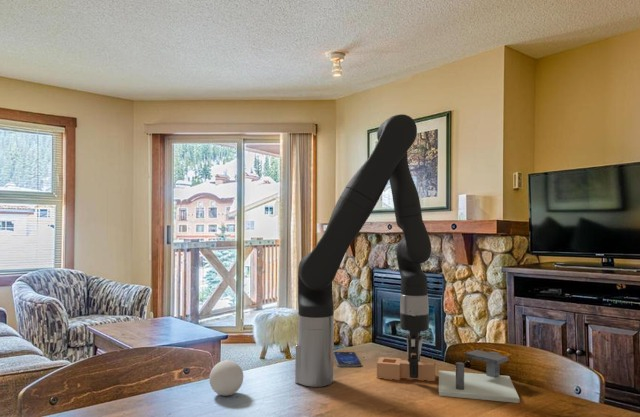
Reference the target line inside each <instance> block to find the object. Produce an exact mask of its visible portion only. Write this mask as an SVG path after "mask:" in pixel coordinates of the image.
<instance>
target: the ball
mask: <svg viewBox="0 0 640 417" xmlns="http://www.w3.org/2000/svg"><path fill="white" fill-rule="evenodd" d="M208 377H209V378H208V380H209V381H208V382H209V385H210V387H211V389H212V390H213V392H214V393H216V394H217V395H219V396H224V397H227V396H231V395H234V394H235V393H237V392H238V391H239V389H240V388H241V387H242V385H243V382H244V372H243V370H242V367H241V366H240V365H239V364H238V363H237V362H236V361H233V360H230V359H229V360H228V359H225V360H221V361H219V362H218V363H217V364H215V365H213V367H212V369H211V371H210V373H209V376H208Z"/></svg>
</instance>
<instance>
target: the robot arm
mask: <svg viewBox="0 0 640 417" xmlns="http://www.w3.org/2000/svg"><path fill="white" fill-rule="evenodd" d="M376 133H377V134H376V138H377V142H376V145H375V147H374V149H373V150H372V152H371V154H370V155H369V156H368V158H367V159H366V160H365V162H364V163H363V164H362V165H361V166H360V167H359V168H358V170H357V171H356V172H355V174H354V175H353V176H352V178H350V180H349V181H348V182H347V185H346V186H345V188H344V190H342V192H341V194H340V196H339V197H338V199H337V201H336V204H335V205H334V207H333V211H332V212H331V215H330V217H329V219H328V220H329V221H328V224H327V225H326V226H327V227H326V229H325V231H324V232H323V234H322V236H321V237H320V239H319V241H318V242H317V243H316V245H315V246H314V247H313V249H312V251H311V252H310V253H309V252H308V253H307V254H305V255H304V256H303V257H302V258H301V260H299V261H300V262H299V263H298V266H297V267H298V268H297V306H298V310H297V311H298V313H297V314H298V316H297V317H298V321H297V322H298V323H297V329H298V330H297V332H298V333H297V334H298V335H297V337H298V338H297V341H298V342H297V344H296V345H295V364H294V365H295V374H294V375H295V376H294V379H295V380H294V381H295V384H300V385H303V386H306V387H312V388H313V387H314V388H316V387H317V388H318V387H319V388H320V387H325V386H329V385H331V384H333V383H334V356H333V352H334V343H335V342H334V341H335V340H334V337H335V336H334V328H335V327H334V325H335V324H334V323H335V322H334V319H335V318H334V315H335V314H334V313H335V310H334V309H335V306H334V299H333V282H334V279H335V277H336V275H337V272H338V271H339V268H340V266H341V265H342V262H343V259H344V257H345V255H346V253H347V252H348V249H350V248H349V247H350V246H351V244H352V243H353V242H354V240H355V239H356V237H357V236H358V234H359V233H360V232H361V230H362V228H363V227H364V225H365V224H366V222H367V220H369V218H370V216H371V214H372V213H373V211H374V209H375V207H376V205H377V203H379V200H380V198H381V197H382V195H383V192H384V191H385V189H386V187H387V184H388V182H389V185H390V190H391V196H392V202H393V209H394V217H395V222H396V225H397V227H398V228H399V229H401V231H402V234H403V237H402V238H401V239H400V240H399V242H398V243H397V248H396V258H397V260H396V261H397V265H398V266H397V267H398V271H399V273H400V299H399V300H400V303H399V315H400V318H399V319H400V322H399V325H400V326H399V327H400V329H401V330H402V331H407V332H409V334H407V335H406V347H407V348H406V349H407V350H406V352H407V356H408V358H407V361H408V362H409V367H410V377H411V378H418V364H419V362H421V357H420V356H421V354H422V351H421V350H422V346H423V335H421V332H426V331H428V330H429V328H430V325H429V324H430V318H429V316H430V314H429V313H430V311H429V309H430V308H429V304H430V303H429V296H428V294H429V293H428V290H429V289H428V287H429V286H428V277H427V274H426V273H425V272H423V270H422V264H425V263H426V262H427V261H428V260H429V259H430V257H431V255H432V241H431V239H430V236H429V233H428V231H427V230H428V229H427V227H426V226H425V222H424V221H423V214H422V207H421V202H420V196H419V192H418V190H417V187H416V183H415V181H414V180H413V177H412V174H411V170H410V166H409V159H408V151H409V149H411V147H412V146H413V144H414V143H415V141H416V140H417V139H416V138H417V135H418V129H417V124H416V122H415V120H414V119H413V118H412V117H411V116H410V115H407V114H403V113H402V114H401V113H400V114H396V115H395V114H394V115H392V116H390V117H389V118H388V119H386V120H384V121H383V122H382V123H381V124H380V126H379V127H378V129H377V132H376Z"/></svg>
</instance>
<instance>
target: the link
mask: <svg viewBox="0 0 640 417" xmlns="http://www.w3.org/2000/svg"><path fill="white" fill-rule="evenodd" d="M380 378H384V379H383V380H392V379H395V381H400V380H401V378H407V379H406V380H413V379H418V380H417V381H424V380H427V382H436V362H432V361H431V362H430V361H420V362H419V364H418V378H411V377H410V367H409V362H408V360H407V359H406V360H403V359H402V358H399V357H398V358H397V357H386V356H385V357H384V356H383V357H382V356H379V357H378V360H377V362H376V379H380Z"/></svg>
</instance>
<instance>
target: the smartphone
mask: <svg viewBox="0 0 640 417" xmlns="http://www.w3.org/2000/svg"><path fill="white" fill-rule="evenodd" d="M333 355H334V356H333V359H334V358H335V359H334V360H335V364H336V366H337V367H338V368H358V367H357V366H362V367H363V364H362V362H361V360H360V359H359V357H358V355H357V353H356V352H355V351H333Z"/></svg>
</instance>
